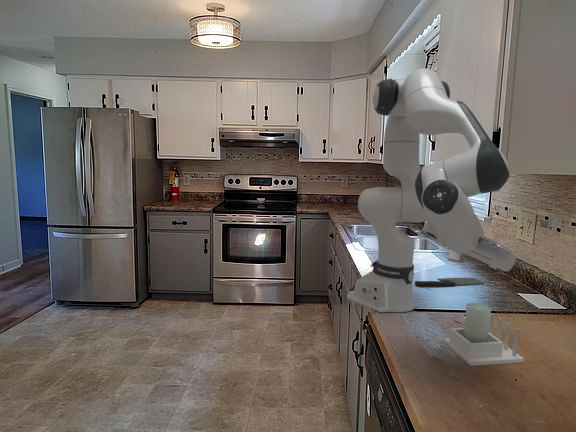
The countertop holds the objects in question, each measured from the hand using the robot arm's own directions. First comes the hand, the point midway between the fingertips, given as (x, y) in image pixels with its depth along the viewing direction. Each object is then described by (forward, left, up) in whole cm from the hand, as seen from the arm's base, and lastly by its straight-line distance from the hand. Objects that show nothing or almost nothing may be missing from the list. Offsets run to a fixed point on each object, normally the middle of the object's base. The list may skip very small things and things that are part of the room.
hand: (475, 257), depth 96 cm
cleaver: (-23, +51, -25) cm, 61 cm away
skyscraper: (-32, +89, -24) cm, 98 cm away
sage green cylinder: (+2, -1, -23) cm, 23 cm away
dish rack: (+3, +1, -24) cm, 24 cm away
